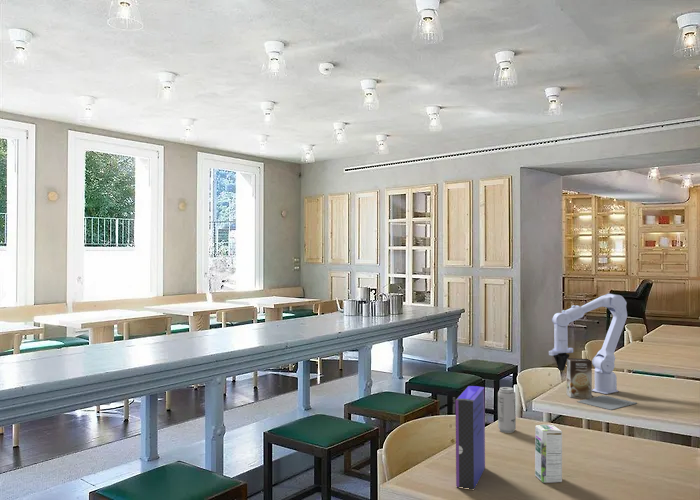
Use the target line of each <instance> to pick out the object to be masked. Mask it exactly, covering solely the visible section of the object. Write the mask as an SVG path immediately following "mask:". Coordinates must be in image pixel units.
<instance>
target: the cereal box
mask: <svg viewBox="0 0 700 500" xmlns="http://www.w3.org/2000/svg"><path fill="white" fill-rule="evenodd" d="M485 406H486V405H485V387H484V386H477V385H468V386H467V387H466V388H464V390H463V391H462V392H461V393H460V395H458V397H457V398H456V399H455V474H456V475H455V486H457V487H463V488H469V489H474V488H475V489H476V487H477V485H478V483H479V481H480V479H481V477H482V476H483V473H484V471H485V469H486V447H485V446H486V432H485V431H486V427H485V424H486V423H485V418H486V417H485V415H486V414H485V410H486V409H485ZM476 484H477V485H476ZM475 486H476V487H475ZM475 489H474V490H475Z"/></svg>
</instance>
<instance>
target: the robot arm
mask: <svg viewBox="0 0 700 500" xmlns="http://www.w3.org/2000/svg"><path fill="white" fill-rule="evenodd" d="M627 303H628V302H627V300H626V299H625V298H624V296H622V295H620V294H614V293H605V294H604V295H600V296H599V297H597V298H595V299H593V300H591V301H589V302H587V303H585V304H583V305H577V304H576V305H574V304H573V305H571V307H570V308H568V309H566V310H564V309H563V310H561V312H556V313H554V315H553V316H552V318H551V322H552V323H553V328H554V329H553V331H554V332H553V333H554V334H553V337H554V339H553V340H554V341H553V345H554V346H553V348H552V349H551V350H548V356H552V357H553V358H554V360H555V362H556V365H557V369H558V371H561V372H563V371H565V369H566V366H567V358H570V354H571V353H574V347H569V345H568V344H569V343H568V342H569V340H568V339H569V338H568V337H569V335H568V334H569V333H568V326H569V325H570V324H571V323H573V322H575V321H577V320H580V319H581V318H584V316H585V313H588V312H590V311H594V310H596V309H599V308H606V309H608V311H610V313H611V314H612V319H611V322H610V325H609V328H608V330H607V332H606V335H605V338H604V340H603V344H602V346H601V349H599V350H598V351H597V353H596V355H594V357H593V358H592V360H591V361H592V367H594V388H592V392H595V393H599V394H602V395H603V394H604V395H609V394H613V393H617V392H619V390H618V389H617V388H618V387H617V385H618V383H617V374H616V373H615V372H614V369H615V360H616V356H615V351H616V348H617V345H618V342H619V341H620V337H621V334H622V332H623V330H624V327H625V324H626V320H627V318H628V311H627Z"/></svg>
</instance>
